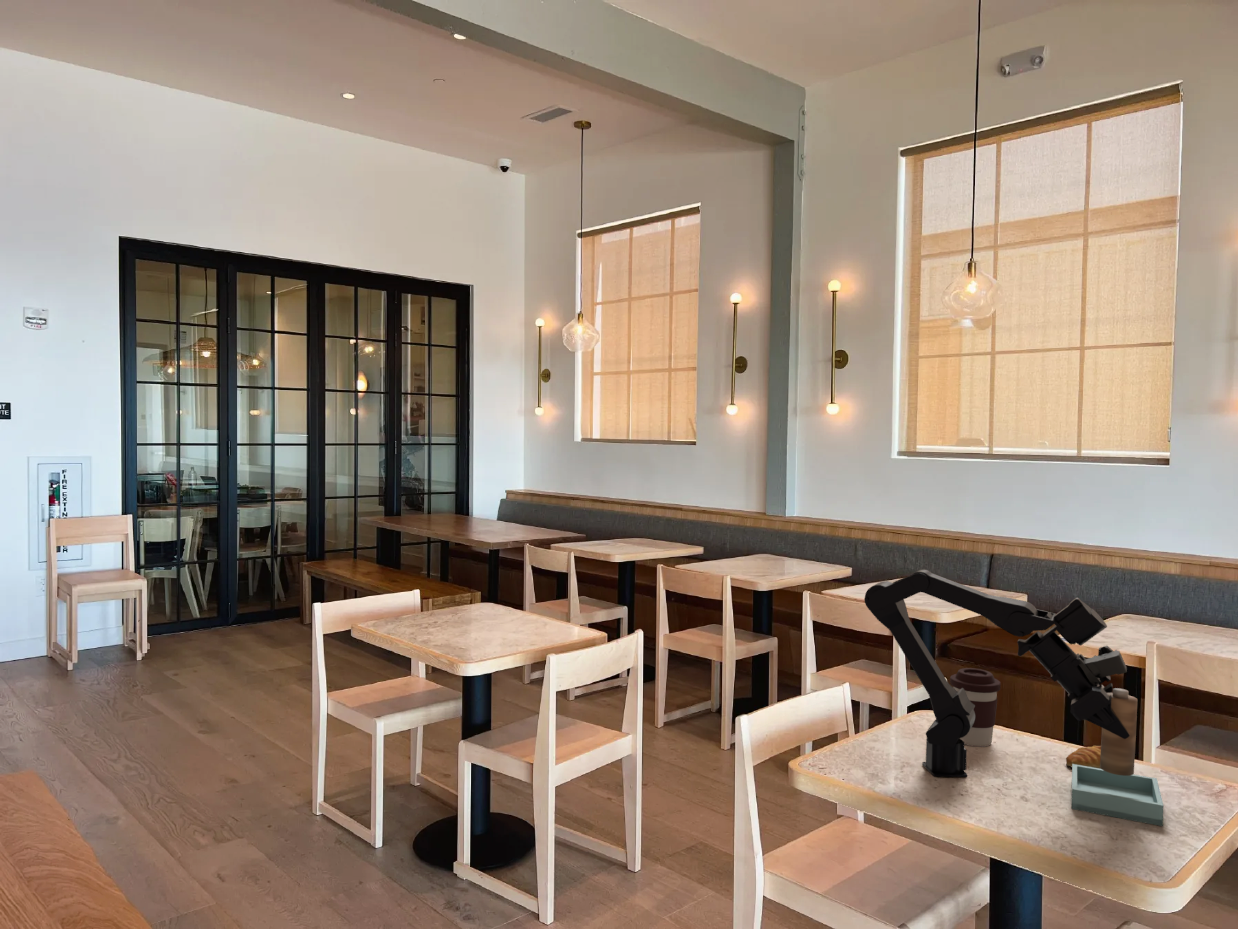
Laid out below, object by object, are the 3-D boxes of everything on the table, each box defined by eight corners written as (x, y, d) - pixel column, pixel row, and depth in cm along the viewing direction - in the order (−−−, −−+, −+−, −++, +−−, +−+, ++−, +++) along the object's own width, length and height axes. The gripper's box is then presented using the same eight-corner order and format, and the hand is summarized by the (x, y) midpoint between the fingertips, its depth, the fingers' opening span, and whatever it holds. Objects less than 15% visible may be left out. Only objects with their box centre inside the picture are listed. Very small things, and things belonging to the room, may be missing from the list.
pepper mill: (1121, 777, 150) (1125, 696, 149) (1093, 766, 154) (1097, 687, 154) (1140, 773, 152) (1144, 693, 151) (1112, 762, 157) (1116, 684, 156)
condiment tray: (1071, 808, 152) (1072, 789, 151) (1071, 782, 164) (1072, 764, 163) (1162, 826, 145) (1163, 805, 145) (1156, 797, 157) (1156, 778, 157)
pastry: (1085, 776, 167) (1086, 756, 167) (1055, 764, 173) (1056, 745, 173) (1119, 770, 171) (1120, 751, 171) (1089, 758, 177) (1089, 740, 177)
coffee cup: (993, 753, 178) (996, 681, 178) (943, 743, 184) (945, 673, 183) (1002, 739, 187) (1004, 670, 186) (954, 730, 192) (956, 663, 192)
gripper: (1095, 644, 146) (1169, 721, 141) (1099, 624, 162) (1165, 693, 157) (1042, 682, 150) (1111, 758, 145) (1050, 660, 167) (1113, 728, 161)
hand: (1127, 732), depth 152 cm, fingers closed on pepper mill, 5 cm apart
